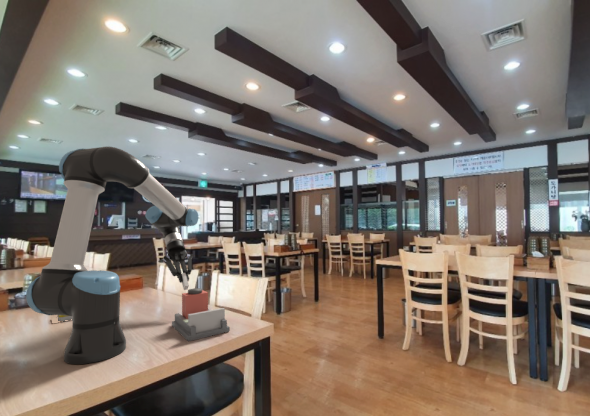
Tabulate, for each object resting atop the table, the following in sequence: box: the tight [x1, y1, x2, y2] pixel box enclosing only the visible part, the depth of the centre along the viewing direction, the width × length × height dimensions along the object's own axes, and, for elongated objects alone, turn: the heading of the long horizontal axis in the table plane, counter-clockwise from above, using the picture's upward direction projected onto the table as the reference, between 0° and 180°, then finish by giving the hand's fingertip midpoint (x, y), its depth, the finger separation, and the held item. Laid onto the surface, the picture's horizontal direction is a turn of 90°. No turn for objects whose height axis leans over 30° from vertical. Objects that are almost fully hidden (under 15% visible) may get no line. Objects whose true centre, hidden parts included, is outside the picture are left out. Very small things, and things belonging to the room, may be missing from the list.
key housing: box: [171, 307, 231, 342], centre depth 110 cm, size 14×20×8 cm
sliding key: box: [181, 287, 209, 319], centre depth 114 cm, size 8×5×11 cm, turn 126°
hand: (186, 287), depth 126 cm, fingers closed
